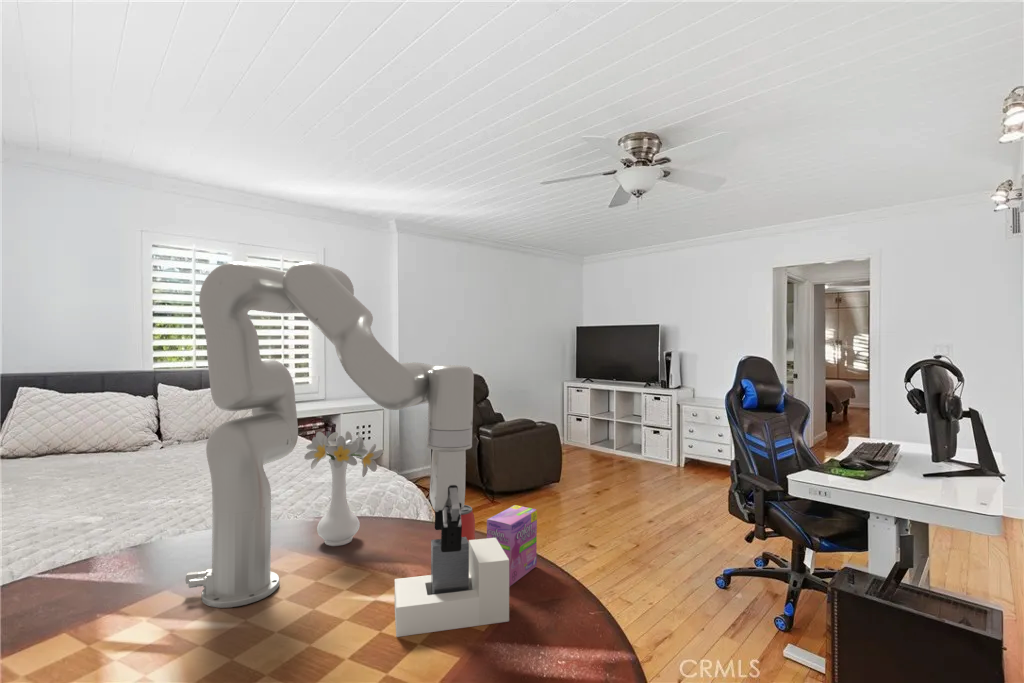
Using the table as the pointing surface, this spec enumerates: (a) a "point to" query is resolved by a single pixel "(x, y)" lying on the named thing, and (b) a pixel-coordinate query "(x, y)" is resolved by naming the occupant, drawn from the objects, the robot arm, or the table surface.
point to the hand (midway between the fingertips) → (447, 539)
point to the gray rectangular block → (449, 568)
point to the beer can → (468, 523)
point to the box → (516, 538)
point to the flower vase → (340, 482)
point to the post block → (457, 595)
